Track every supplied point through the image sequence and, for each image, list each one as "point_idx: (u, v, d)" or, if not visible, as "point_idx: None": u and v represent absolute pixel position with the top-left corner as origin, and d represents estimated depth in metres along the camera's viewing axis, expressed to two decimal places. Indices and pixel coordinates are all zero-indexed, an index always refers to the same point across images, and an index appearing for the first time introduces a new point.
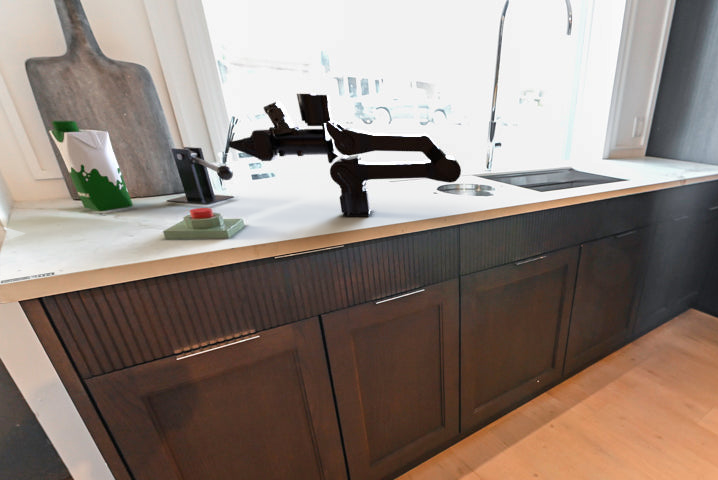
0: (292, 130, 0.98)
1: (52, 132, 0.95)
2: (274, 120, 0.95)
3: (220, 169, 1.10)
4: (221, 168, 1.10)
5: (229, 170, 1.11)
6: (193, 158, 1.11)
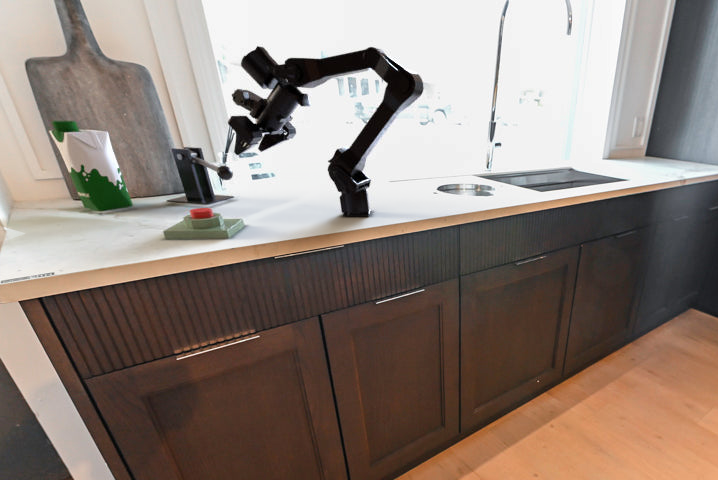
0: (260, 102, 1.00)
1: (52, 132, 0.95)
2: (241, 104, 0.99)
3: (220, 169, 1.10)
4: (221, 168, 1.10)
5: (229, 170, 1.11)
6: (193, 158, 1.11)
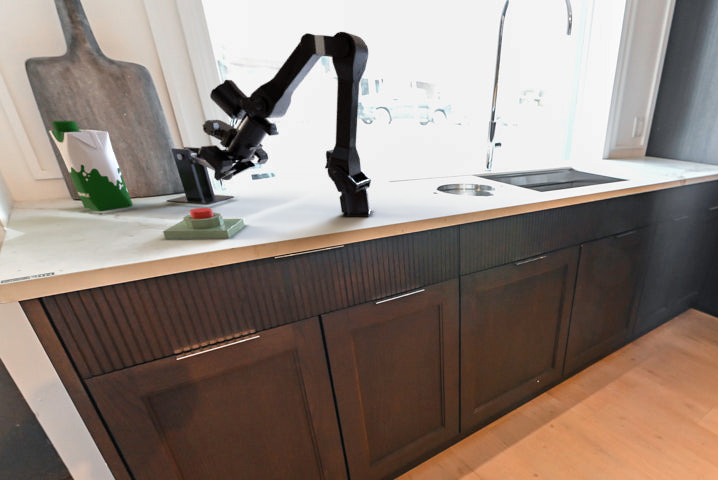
0: (230, 132, 1.04)
1: (52, 132, 0.95)
2: (212, 134, 1.03)
3: None
4: None
5: None
6: (193, 158, 1.11)
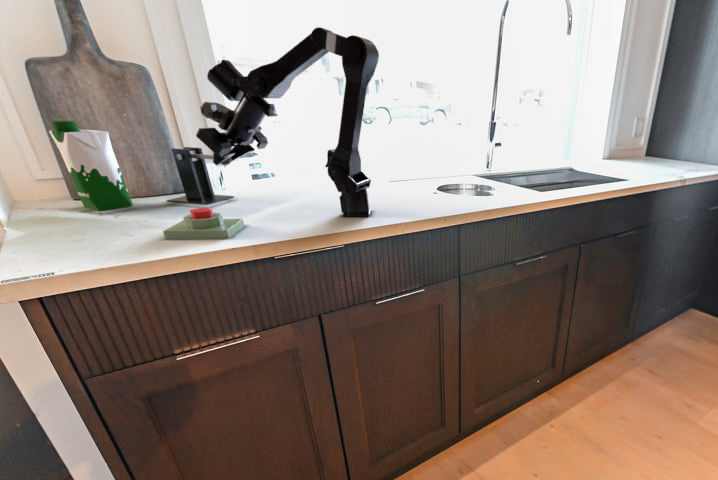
0: (228, 114, 1.02)
1: (52, 132, 0.95)
2: (209, 116, 1.01)
3: None
4: None
5: None
6: (192, 155, 1.10)
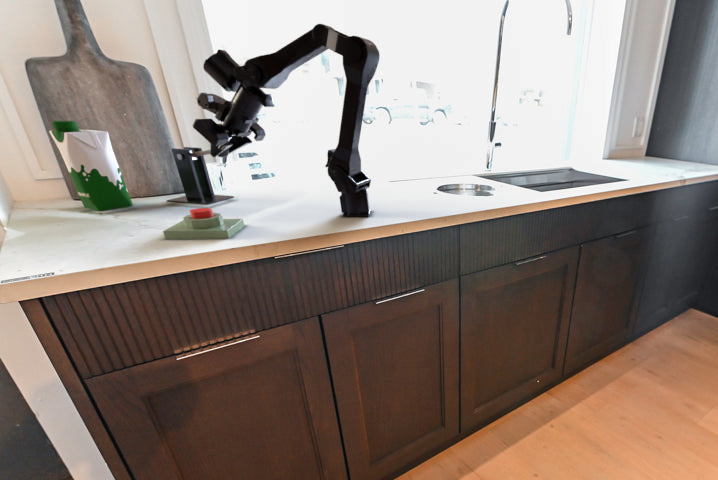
0: (225, 104, 1.01)
1: (52, 132, 0.95)
2: (206, 107, 1.01)
3: None
4: None
5: None
6: (192, 154, 1.10)
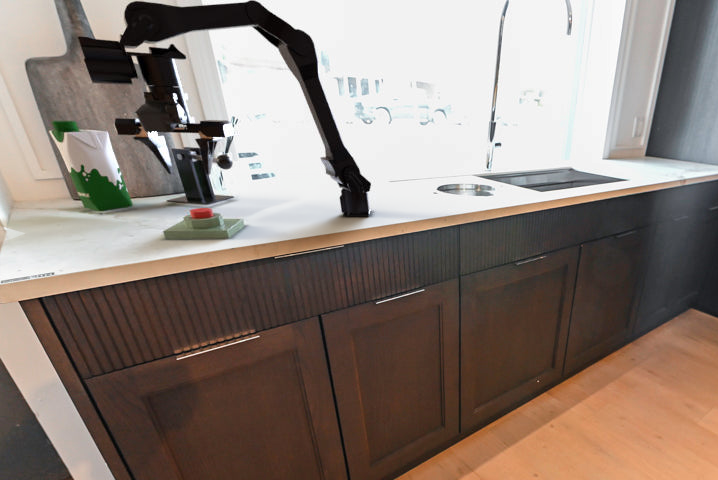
0: (175, 99, 0.79)
1: (52, 132, 0.95)
2: (185, 117, 0.79)
3: (218, 158, 1.09)
4: (219, 157, 1.09)
5: (227, 157, 1.10)
6: (193, 156, 1.11)
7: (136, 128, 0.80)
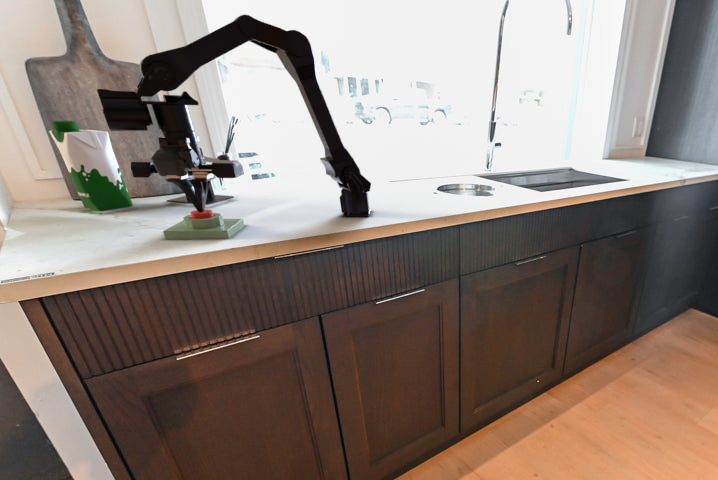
0: (188, 143, 0.82)
1: (52, 132, 0.95)
2: (198, 161, 0.82)
3: (218, 158, 1.09)
4: (219, 157, 1.09)
5: (227, 157, 1.10)
6: None
7: (151, 171, 0.83)
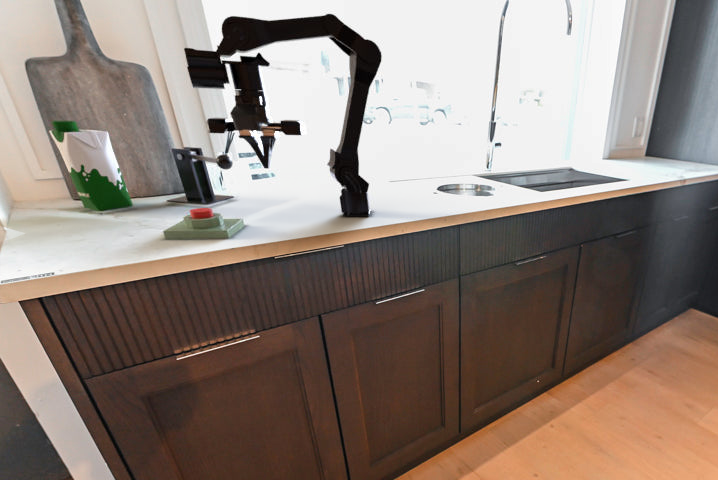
0: (260, 101, 0.89)
1: (52, 132, 0.95)
2: (270, 117, 0.89)
3: (218, 158, 1.09)
4: (219, 157, 1.09)
5: (227, 157, 1.10)
6: (193, 156, 1.11)
7: (226, 127, 0.90)
